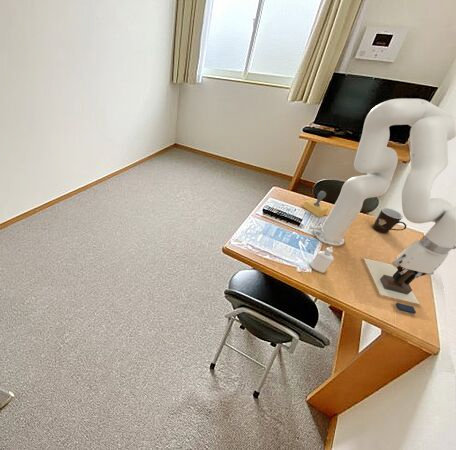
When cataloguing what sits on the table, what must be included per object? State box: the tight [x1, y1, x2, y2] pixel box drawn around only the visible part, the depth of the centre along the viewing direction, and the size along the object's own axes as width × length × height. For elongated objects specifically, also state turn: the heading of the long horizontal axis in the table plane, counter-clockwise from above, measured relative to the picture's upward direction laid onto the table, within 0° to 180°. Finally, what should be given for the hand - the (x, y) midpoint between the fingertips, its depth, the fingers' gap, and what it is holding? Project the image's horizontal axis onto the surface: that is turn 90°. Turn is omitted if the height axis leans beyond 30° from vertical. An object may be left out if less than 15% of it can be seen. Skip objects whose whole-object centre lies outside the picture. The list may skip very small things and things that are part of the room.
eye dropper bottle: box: [310, 245, 334, 274], centre depth 106 cm, size 4×6×12 cm
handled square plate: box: [380, 269, 415, 295], centre depth 101 cm, size 8×5×10 cm, turn 74°
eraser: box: [395, 302, 417, 315], centre depth 96 cm, size 5×2×2 cm, turn 74°
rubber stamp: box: [302, 190, 329, 218], centre depth 141 cm, size 10×6×12 cm, turn 27°
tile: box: [363, 257, 420, 305], centre depth 107 cm, size 13×20×1 cm, turn 164°
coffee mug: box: [372, 207, 407, 235], centre depth 131 cm, size 12×9×10 cm
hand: (400, 280), depth 102 cm, fingers closed on handled square plate, 2 cm apart
